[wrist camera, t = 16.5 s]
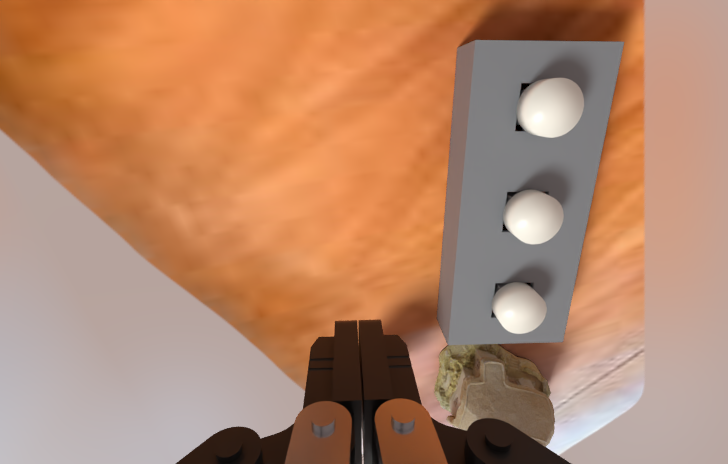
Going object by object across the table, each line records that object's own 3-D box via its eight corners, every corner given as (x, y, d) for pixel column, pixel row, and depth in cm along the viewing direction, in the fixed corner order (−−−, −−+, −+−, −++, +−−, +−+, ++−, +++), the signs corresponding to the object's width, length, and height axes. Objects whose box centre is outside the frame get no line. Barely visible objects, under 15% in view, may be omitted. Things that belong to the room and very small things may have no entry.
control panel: (457, 47, 35) (475, 39, 30) (586, 49, 35) (624, 41, 30) (436, 318, 44) (447, 345, 39) (539, 316, 44) (562, 342, 40)
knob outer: (478, 262, 41) (502, 292, 35) (518, 261, 41) (550, 291, 35) (473, 299, 42) (496, 334, 36) (513, 298, 43) (542, 333, 36)
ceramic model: (417, 402, 48) (435, 477, 38) (449, 327, 44) (478, 388, 35) (519, 423, 50) (560, 499, 40) (557, 353, 46) (612, 418, 37)
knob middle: (487, 178, 38) (515, 194, 32) (530, 178, 38) (567, 194, 32) (482, 221, 39) (509, 244, 33) (524, 220, 40) (558, 244, 33)
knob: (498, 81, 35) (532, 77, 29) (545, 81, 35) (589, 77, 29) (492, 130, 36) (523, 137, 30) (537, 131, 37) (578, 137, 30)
